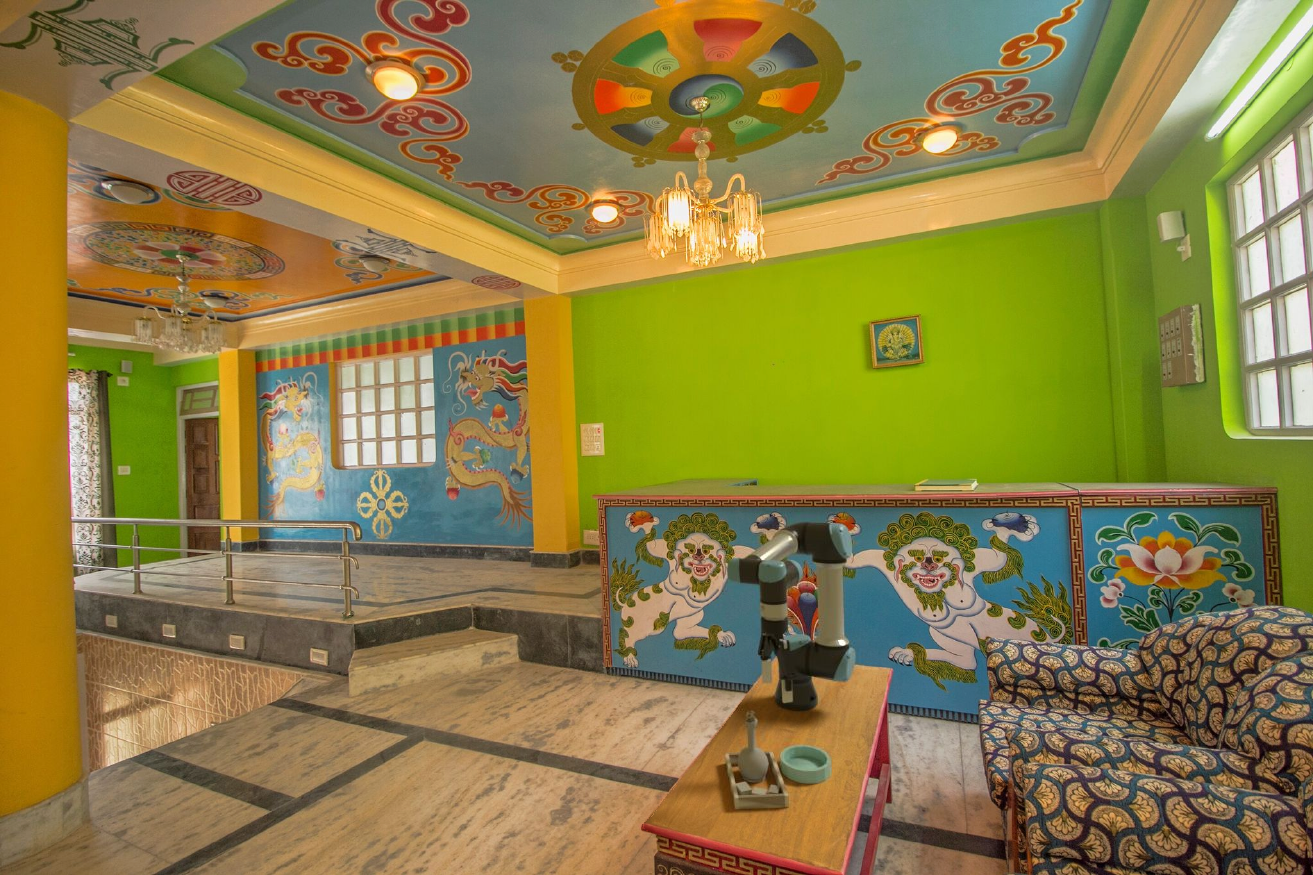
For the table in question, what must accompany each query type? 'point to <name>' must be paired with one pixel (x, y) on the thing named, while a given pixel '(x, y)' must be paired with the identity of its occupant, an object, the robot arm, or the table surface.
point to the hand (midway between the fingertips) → (777, 691)
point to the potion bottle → (752, 755)
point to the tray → (762, 799)
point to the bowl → (805, 764)
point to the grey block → (743, 788)
